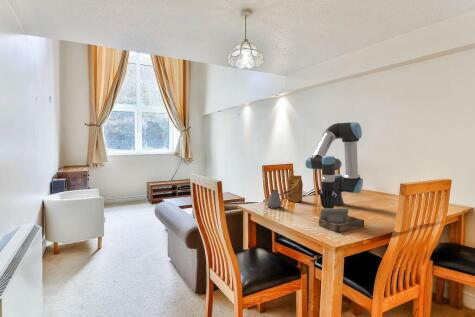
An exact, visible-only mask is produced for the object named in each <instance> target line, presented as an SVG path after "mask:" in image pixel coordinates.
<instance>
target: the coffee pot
mask: <svg viewBox="0 0 475 317" xmlns="http://www.w3.org/2000/svg"><path fill="white" fill-rule="evenodd" d="M269 191H270V194H269V196H268V199H267V201H266V206H268V207H269V208H270V207H272V208H271V209H279V208H280V207H282V205H283V203H282V200H281V198H280V196H281V195H284V194H287V193H288V192H290V191H292V190H290V191H287V190H285V191H283V192H281V193H279V192H280V190H278V189H270V190H269ZM292 193H293V191H292ZM278 207H279V208H278Z"/></svg>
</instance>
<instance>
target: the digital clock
mask: <svg viewBox="0 0 475 317" xmlns="http://www.w3.org/2000/svg"><path fill="white" fill-rule="evenodd" d="M347 216H349V209H348V208H332V209H324V208H321V209H320V213H319V219H323V220H325V221H328V222H331V223H334V224H337V225H338V224H343V223H347V222H346V220H347ZM319 219H318V220H319Z"/></svg>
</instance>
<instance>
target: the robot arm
mask: <svg viewBox="0 0 475 317" xmlns="http://www.w3.org/2000/svg"><path fill="white" fill-rule="evenodd" d="M362 132H363V130H362V126H361V124H360V123H359V122H352V121H351V122H349V121H348V122H337V123H333V124H332V125H330V126H328V127H327V128H326V129H325V130H324V131H323V133H322V138H321V139H320V142H319V143H318V145H317V148H316V149H315V151H314V152H313V154H312V156H311V157H307V158H306V159H305V164H304V165H305V168H307V169H311V170H321V190H318V194H319V197H320V205H321V207H323V209H335V206H337V207H338V206H344V204H345V203H344V199H343V195H342V194H343V193H351V194H360V193H361V192H362V189H363V186H364V179H363V178H362V177H361V175H360V174H359V170H358V165H359V164H358V142H359V141H360V139H362V134H363V133H362ZM337 139H341V142H342V143H343V144H344V146H343V147H344V166H345V167H344V169H345V173H344V175H342V174H336V171H338V170H339V169H341V168H342V165H343V163H342V161H341V160H340V159H339V158H336V157H335V156H333V155H327V153H328V152H329V149H330V147H331V145H332V143H333V142H335V140H337ZM342 192H343V193H342Z"/></svg>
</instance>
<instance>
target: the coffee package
mask: <svg viewBox="0 0 475 317" xmlns="http://www.w3.org/2000/svg"><path fill="white" fill-rule="evenodd" d="M303 183H304V182H303V179H302V175H293V174H289V177H288V183H287V190H286V191H290V190H292V191H293V193H292V191H290V192H288V193H286V195H287V196H286V198H287V199H286V200H288V201H287V202H292V203H299V202H302V201H303V192H304V191H303V188H304V186H303Z"/></svg>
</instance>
